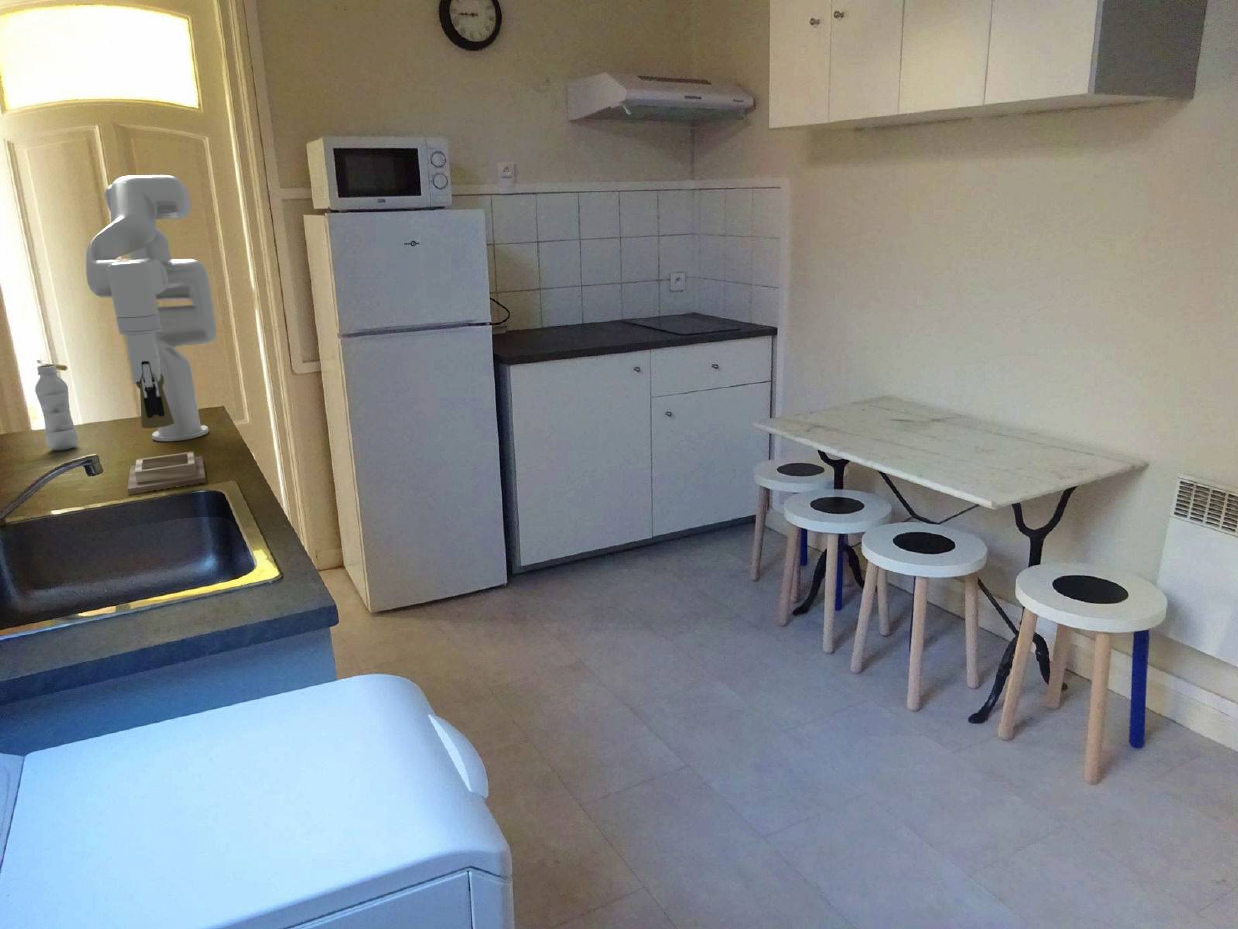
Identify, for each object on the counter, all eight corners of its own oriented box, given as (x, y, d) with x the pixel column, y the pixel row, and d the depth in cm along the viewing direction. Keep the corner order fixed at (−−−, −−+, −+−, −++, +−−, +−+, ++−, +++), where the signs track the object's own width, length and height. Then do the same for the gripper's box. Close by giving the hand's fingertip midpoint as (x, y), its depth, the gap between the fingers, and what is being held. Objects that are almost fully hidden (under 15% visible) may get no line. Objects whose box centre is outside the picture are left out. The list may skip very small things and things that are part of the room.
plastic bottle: (41, 452, 205) (22, 368, 200) (68, 444, 211) (50, 362, 206) (60, 454, 203) (41, 369, 197) (87, 446, 209) (69, 364, 203)
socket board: (131, 471, 188) (128, 456, 187) (202, 461, 194) (200, 446, 193) (128, 494, 172) (125, 478, 171) (206, 483, 178) (203, 467, 177)
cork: (180, 421, 181) (171, 369, 178) (157, 428, 176) (147, 374, 173) (158, 420, 183) (148, 368, 180) (134, 427, 178) (124, 373, 175)
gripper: (119, 322, 179) (136, 409, 184) (115, 331, 165) (134, 425, 170) (160, 319, 182) (176, 404, 188) (160, 327, 168) (176, 420, 173)
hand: (156, 413), depth 179 cm, fingers closed on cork, 4 cm apart
